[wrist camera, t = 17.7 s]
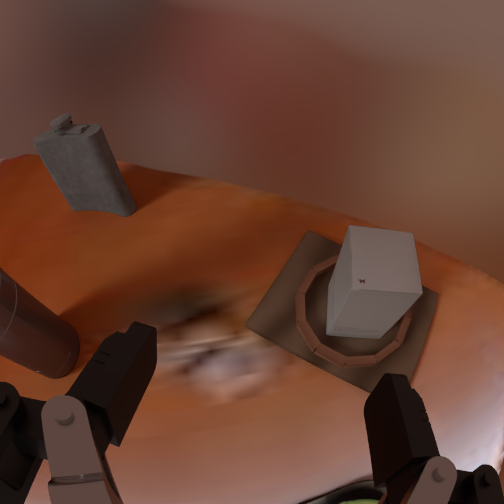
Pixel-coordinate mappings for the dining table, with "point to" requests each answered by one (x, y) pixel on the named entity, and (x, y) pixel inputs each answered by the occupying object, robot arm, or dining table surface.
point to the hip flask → (84, 167)
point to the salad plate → (352, 494)
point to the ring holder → (315, 321)
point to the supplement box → (372, 282)
